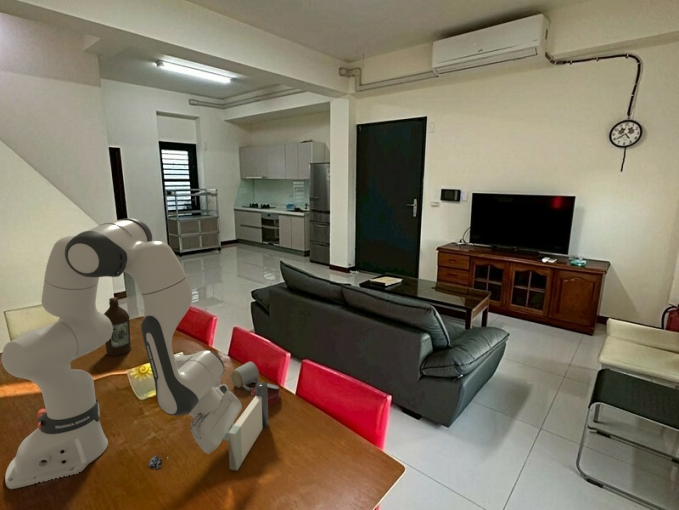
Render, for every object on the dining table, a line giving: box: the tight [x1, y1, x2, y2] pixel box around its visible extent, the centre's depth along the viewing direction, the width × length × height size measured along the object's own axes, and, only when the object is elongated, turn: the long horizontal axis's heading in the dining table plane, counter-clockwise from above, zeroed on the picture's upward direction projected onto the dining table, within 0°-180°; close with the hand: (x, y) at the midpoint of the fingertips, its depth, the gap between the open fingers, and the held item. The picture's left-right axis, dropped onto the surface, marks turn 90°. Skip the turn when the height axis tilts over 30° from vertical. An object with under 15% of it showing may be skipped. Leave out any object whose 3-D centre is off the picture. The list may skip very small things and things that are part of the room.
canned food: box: [250, 380, 280, 407], centre depth 131 cm, size 11×10×10 cm
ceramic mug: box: [230, 361, 260, 392], centre depth 138 cm, size 11×8×8 cm
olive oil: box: [103, 297, 132, 357], centre depth 163 cm, size 11×11×25 cm
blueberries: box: [147, 455, 169, 470], centre depth 101 cm, size 7×8×2 cm
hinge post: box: [254, 381, 269, 430], centre depth 115 cm, size 4×4×14 cm
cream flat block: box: [227, 396, 263, 471], centre depth 105 cm, size 17×2×11 cm, turn 169°
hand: (238, 441), depth 104 cm, fingers closed
